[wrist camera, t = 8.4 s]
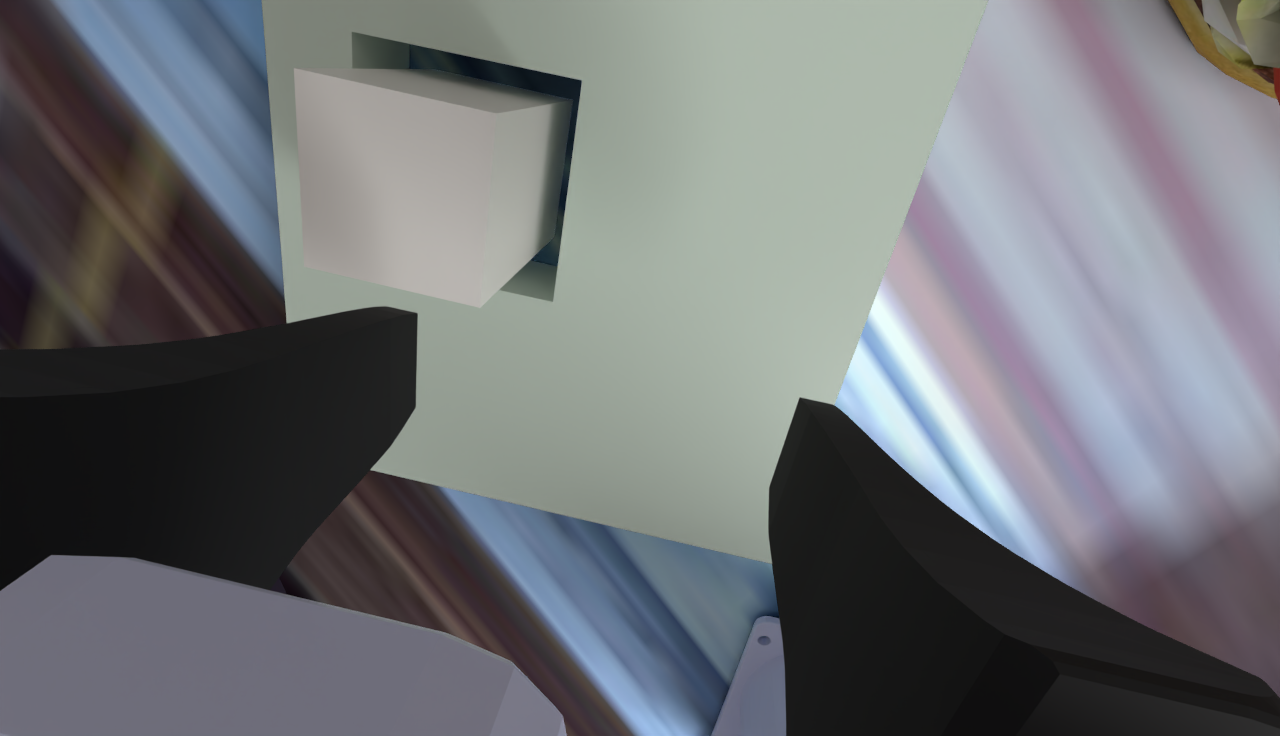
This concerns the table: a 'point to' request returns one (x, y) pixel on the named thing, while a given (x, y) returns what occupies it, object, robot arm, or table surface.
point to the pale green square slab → (652, 241)
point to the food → (1237, 38)
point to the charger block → (427, 177)
